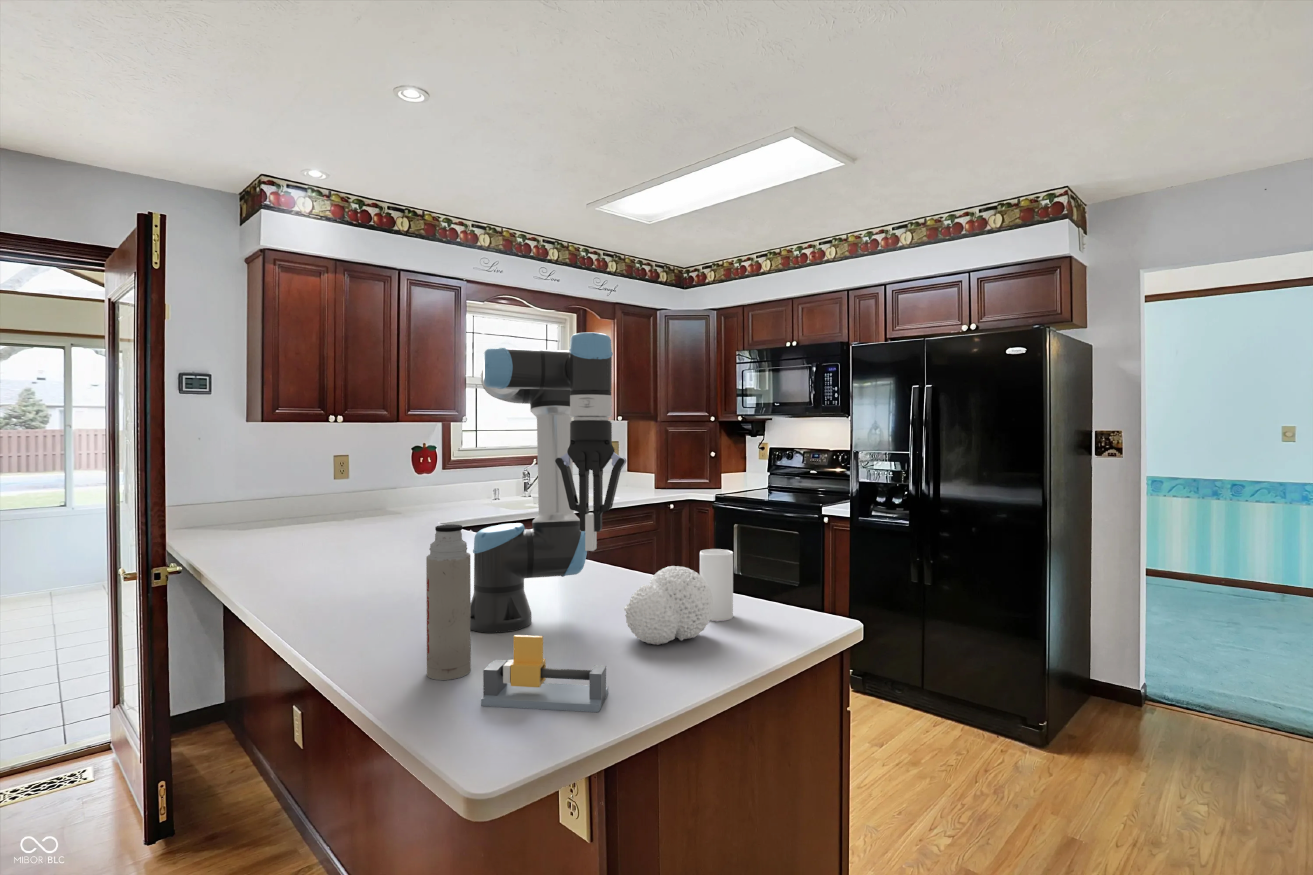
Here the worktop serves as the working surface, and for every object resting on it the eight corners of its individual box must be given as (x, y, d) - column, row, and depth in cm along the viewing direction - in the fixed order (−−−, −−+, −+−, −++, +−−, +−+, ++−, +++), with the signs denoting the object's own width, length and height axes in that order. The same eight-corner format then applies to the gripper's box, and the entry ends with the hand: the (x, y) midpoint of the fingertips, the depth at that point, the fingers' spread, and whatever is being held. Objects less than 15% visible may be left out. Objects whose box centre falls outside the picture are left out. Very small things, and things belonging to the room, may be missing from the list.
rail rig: (480, 705, 111) (479, 669, 111) (497, 687, 119) (497, 653, 119) (598, 712, 109) (598, 675, 109) (608, 692, 117) (608, 658, 117)
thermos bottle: (421, 680, 122) (421, 528, 122) (432, 665, 130) (432, 522, 130) (466, 679, 123) (465, 527, 123) (474, 664, 131) (473, 522, 131)
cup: (731, 621, 160) (731, 555, 160) (697, 619, 162) (697, 554, 162) (734, 612, 168) (734, 549, 168) (701, 611, 170) (702, 548, 170)
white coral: (682, 584, 162) (679, 539, 151) (732, 631, 151) (732, 587, 140) (615, 631, 153) (607, 587, 143) (663, 685, 142) (658, 641, 132)
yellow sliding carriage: (510, 685, 113) (510, 638, 113) (517, 678, 116) (517, 632, 116) (539, 687, 112) (539, 639, 112) (545, 679, 116) (545, 633, 116)
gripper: (550, 419, 118) (550, 552, 118) (622, 418, 116) (622, 554, 116) (561, 419, 125) (561, 545, 126) (629, 419, 124) (629, 546, 124)
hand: (590, 549), depth 121 cm, fingers closed
